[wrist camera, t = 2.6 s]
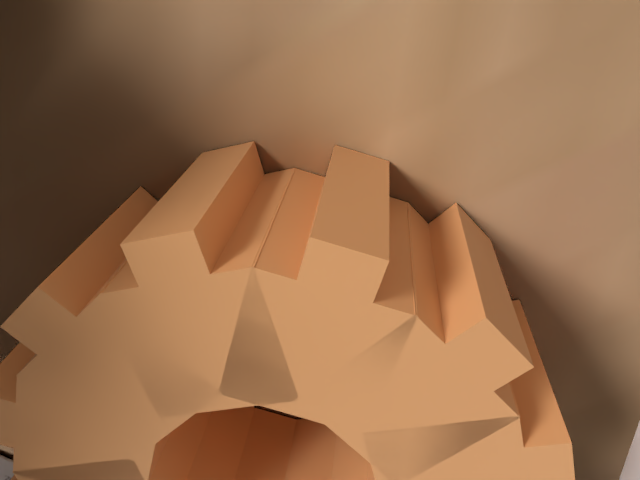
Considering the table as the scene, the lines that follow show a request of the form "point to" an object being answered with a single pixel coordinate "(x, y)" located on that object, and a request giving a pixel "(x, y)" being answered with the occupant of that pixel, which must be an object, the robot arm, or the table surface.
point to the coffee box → (6, 468)
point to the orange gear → (279, 340)
